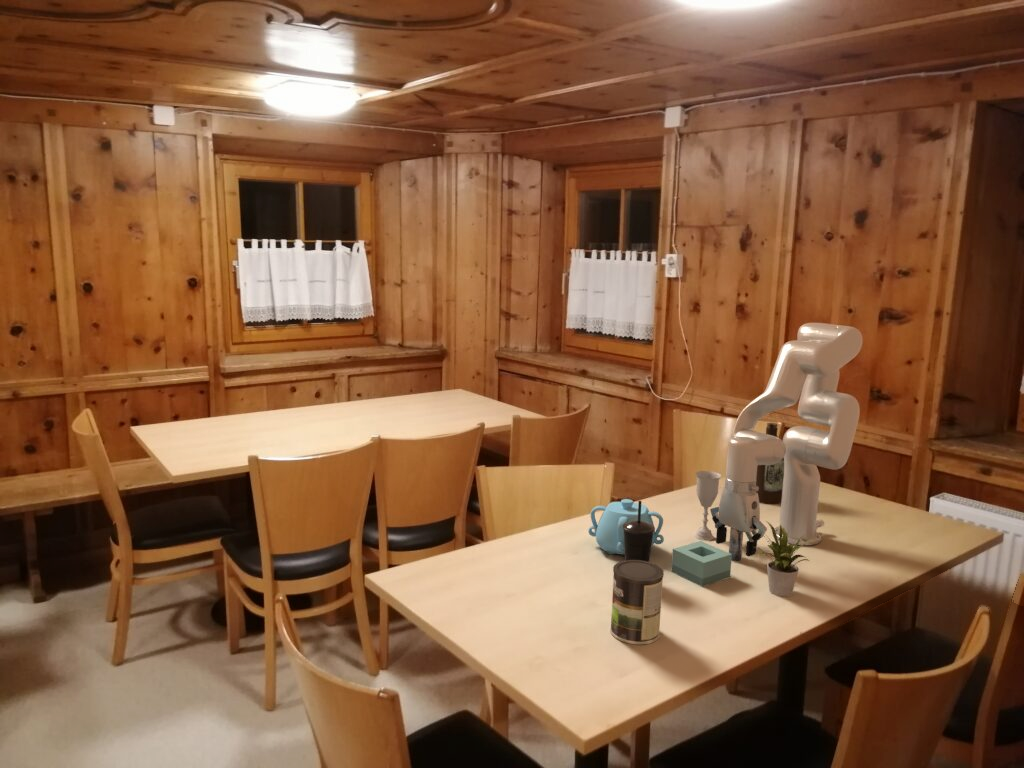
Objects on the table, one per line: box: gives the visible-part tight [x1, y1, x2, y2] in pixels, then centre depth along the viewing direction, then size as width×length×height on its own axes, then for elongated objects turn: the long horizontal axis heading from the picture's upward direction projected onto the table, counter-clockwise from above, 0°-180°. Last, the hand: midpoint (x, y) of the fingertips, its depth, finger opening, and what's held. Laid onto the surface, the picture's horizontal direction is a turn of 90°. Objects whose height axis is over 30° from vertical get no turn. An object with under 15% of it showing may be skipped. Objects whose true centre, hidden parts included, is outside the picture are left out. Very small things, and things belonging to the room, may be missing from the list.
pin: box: [728, 527, 744, 562], centre depth 203 cm, size 3×3×10 cm
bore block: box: [671, 540, 732, 587], centre depth 193 cm, size 10×10×6 cm
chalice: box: [694, 470, 722, 541], centre depth 217 cm, size 7×7×18 cm
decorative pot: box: [588, 498, 665, 556], centre depth 207 cm, size 16×16×14 cm
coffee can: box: [610, 559, 665, 646], centre depth 163 cm, size 10×10×14 cm
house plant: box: [751, 520, 815, 597], centre depth 184 cm, size 14×14×16 cm
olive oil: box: [755, 422, 784, 505], centre depth 249 cm, size 11×11×25 cm
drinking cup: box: [623, 500, 656, 562], centre depth 188 cm, size 8×8×20 cm
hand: (735, 548), depth 203 cm, fingers open, 9 cm apart
